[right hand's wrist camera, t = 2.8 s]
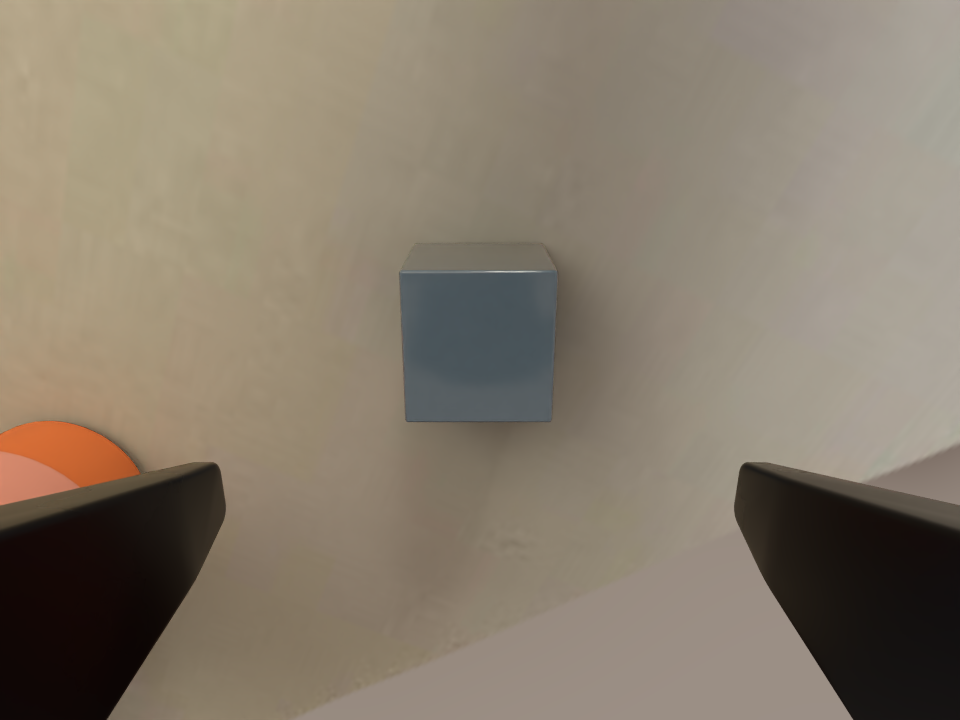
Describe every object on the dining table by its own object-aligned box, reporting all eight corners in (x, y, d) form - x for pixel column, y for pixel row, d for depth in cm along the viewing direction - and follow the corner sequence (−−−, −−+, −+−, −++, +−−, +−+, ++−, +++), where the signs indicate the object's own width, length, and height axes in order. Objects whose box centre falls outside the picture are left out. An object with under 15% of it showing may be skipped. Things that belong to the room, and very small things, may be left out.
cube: (418, 370, 23) (405, 423, 19) (413, 242, 21) (398, 270, 17) (539, 370, 23) (552, 423, 19) (543, 242, 21) (558, 270, 17)
